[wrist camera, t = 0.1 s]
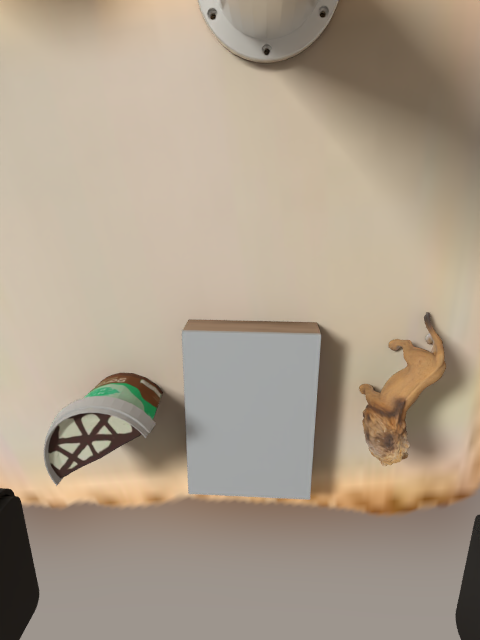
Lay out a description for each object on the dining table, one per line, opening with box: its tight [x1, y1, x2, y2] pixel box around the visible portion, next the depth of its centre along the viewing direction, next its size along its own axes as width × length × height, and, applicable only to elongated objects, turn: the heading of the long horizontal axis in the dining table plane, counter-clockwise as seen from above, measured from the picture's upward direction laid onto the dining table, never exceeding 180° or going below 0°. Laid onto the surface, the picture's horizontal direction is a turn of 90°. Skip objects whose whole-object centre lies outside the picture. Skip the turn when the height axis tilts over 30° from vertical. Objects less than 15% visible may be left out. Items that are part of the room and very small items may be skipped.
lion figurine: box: [359, 312, 446, 466], centre depth 42 cm, size 15×5×9 cm, turn 160°
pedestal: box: [182, 320, 321, 499], centre depth 47 cm, size 20×14×4 cm
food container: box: [44, 373, 163, 486], centre depth 45 cm, size 12×6×10 cm, turn 122°
